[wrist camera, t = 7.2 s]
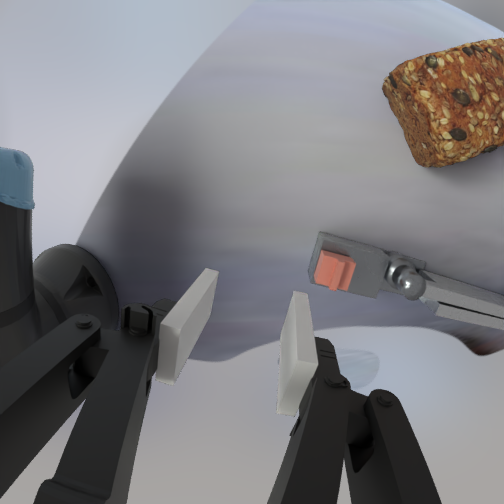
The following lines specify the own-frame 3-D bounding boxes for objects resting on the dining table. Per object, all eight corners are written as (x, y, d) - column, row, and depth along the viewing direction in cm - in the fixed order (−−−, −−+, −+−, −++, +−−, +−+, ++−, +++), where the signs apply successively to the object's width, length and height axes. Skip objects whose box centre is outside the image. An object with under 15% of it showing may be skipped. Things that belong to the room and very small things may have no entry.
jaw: (379, 274, 31) (399, 297, 25) (386, 253, 31) (408, 272, 24) (510, 311, 30) (535, 331, 24) (516, 295, 30) (543, 313, 23)
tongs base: (307, 270, 33) (313, 296, 26) (319, 230, 32) (329, 246, 25) (503, 318, 32) (530, 342, 24) (515, 289, 30) (545, 309, 23)
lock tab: (313, 275, 28) (316, 286, 26) (321, 249, 28) (325, 257, 25) (343, 283, 28) (348, 294, 26) (351, 257, 28) (358, 266, 25)
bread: (482, 53, 23) (524, 30, 14) (514, 127, 25) (564, 123, 16) (372, 83, 27) (403, 50, 18) (413, 171, 29) (459, 173, 19)
